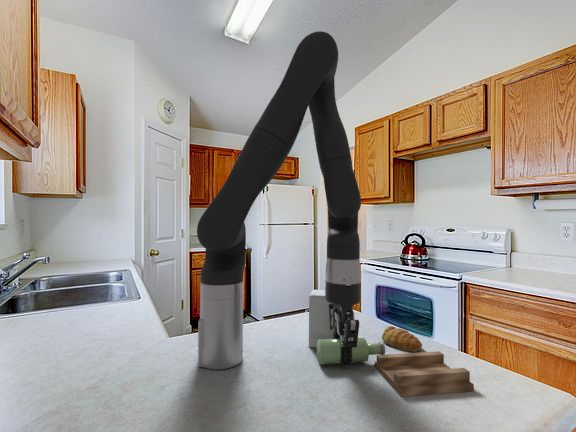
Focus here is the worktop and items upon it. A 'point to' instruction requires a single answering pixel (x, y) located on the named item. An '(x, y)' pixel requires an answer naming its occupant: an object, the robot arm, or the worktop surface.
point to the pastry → (401, 339)
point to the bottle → (332, 350)
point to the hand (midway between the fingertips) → (342, 358)
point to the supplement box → (318, 318)
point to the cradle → (422, 374)
